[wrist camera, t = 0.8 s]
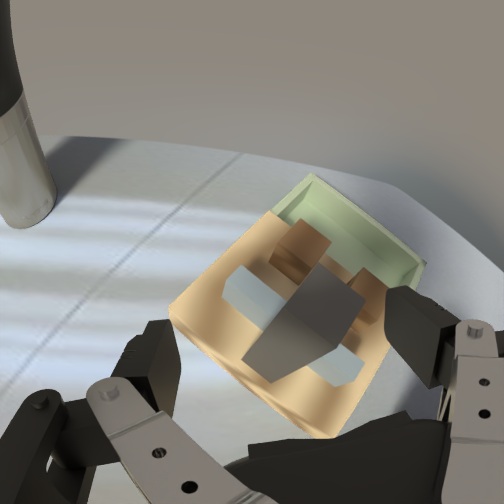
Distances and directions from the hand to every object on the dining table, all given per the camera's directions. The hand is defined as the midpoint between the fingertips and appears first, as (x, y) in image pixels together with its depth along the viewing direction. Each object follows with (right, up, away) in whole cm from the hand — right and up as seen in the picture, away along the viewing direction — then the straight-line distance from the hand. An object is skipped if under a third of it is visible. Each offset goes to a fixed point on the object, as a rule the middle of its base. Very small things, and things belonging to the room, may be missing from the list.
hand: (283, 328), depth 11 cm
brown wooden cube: (+9, -3, +21) cm, 24 cm away
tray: (+11, +2, +31) cm, 33 cm away
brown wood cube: (+3, +2, +23) cm, 23 cm away
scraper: (+1, -6, +18) cm, 19 cm away
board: (+3, -6, +24) cm, 25 cm away
